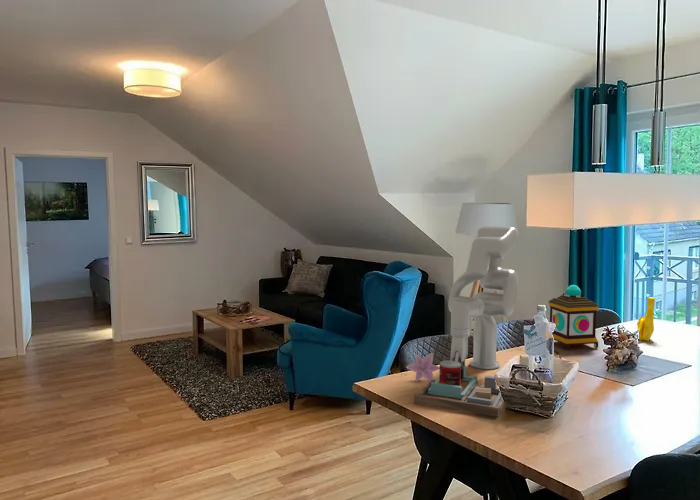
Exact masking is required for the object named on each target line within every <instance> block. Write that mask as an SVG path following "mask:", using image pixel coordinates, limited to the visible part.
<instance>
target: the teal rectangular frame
mask: <svg viewBox="0 0 700 500" xmlns="http://www.w3.org/2000/svg"><path fill="white" fill-rule="evenodd" d="M466 366H467V365H465V366H464V365H462V369H463V379H461V382H462V381H464V382H465V381H466V382H469V383H468V385H467V386H466V387H465V388H464V390H463V386H462V385H461V386H456V385H448V384H441V383H439V377H438V378H437V379H436V380H435V383H434V382H432V383H431V387H430V388H429V389H428V393H427V394H428V395H434V396H441V397H448V398H455V399H461V400H462V398H463V397H464V395H465V394H466V393H467V391H468V390H469V389H470V387H471V386H472V385H474V386H476V383H477V382H478V377H476V376H470V375H469V376H468V375H466V374H467V373H466V370H467V368H466Z"/></svg>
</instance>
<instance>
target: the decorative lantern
mask: <svg viewBox="0 0 700 500" xmlns="http://www.w3.org/2000/svg"><path fill="white" fill-rule="evenodd" d="M548 306H549V323H550V322H552V323H555V324H556V327H555V329H554V332H553V336H554V340H553V341H556V342H558V343H561V344H562V345H564V350H565V351H566V352H567V351H569V347H570V346H573V345H575V346H577V345H590V344H591V345H592V344H593V348H594V349H596V350H597V349H598V348H599V340H598V339H597V337H596V336H597V335H596V329H597V328H596V327H597V326H596V324H597V311H598V309H599V307H600V306H599V305H598V304H597V303H596V302H595V301H592V300H590V299H588V298H587V297H586V296H585V295H584V294H582V290H581V289H580V287H579V286H578V285H577V284H571V285H569V286H568V287H567V288H566V289H565V293H563V294H561V295H560V296H558V297H552V299H549V301H548Z"/></svg>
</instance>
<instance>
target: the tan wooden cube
mask: <svg viewBox="0 0 700 500" xmlns="http://www.w3.org/2000/svg"><path fill="white" fill-rule="evenodd" d="M475 387H476V386H475ZM475 397H477V398H484V399H490V400H492V392H491V388H480V387H476V396H475Z"/></svg>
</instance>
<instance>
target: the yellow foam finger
mask: <svg viewBox="0 0 700 500" xmlns="http://www.w3.org/2000/svg"><path fill="white" fill-rule="evenodd" d="M655 303H656V301H655V297H650V296H649V297H648V298H647V303H646V304H647V305H646V306H647V307H646V313H645V316H644V315H643V316H641V317H640V318H639V319H638V321H637V322H636V326H637V330H638V329H639V330H640V331H639V341H645V342H649V341H650V340H651V338H652V335H653V333H654V329H655V328H654V310H655Z"/></svg>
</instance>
